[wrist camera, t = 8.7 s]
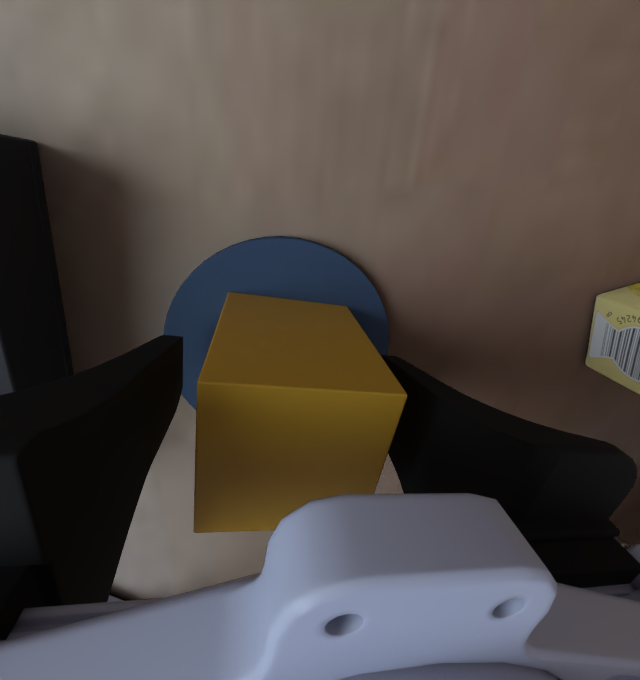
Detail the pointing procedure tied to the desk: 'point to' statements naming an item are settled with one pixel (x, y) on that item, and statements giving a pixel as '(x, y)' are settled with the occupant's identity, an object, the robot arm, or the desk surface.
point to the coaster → (268, 292)
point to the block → (288, 412)
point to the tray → (28, 276)
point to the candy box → (617, 336)
